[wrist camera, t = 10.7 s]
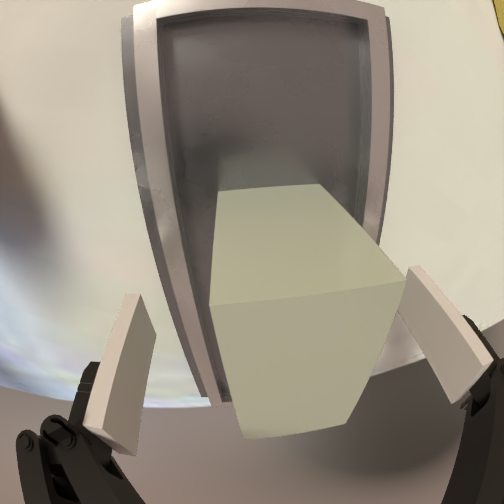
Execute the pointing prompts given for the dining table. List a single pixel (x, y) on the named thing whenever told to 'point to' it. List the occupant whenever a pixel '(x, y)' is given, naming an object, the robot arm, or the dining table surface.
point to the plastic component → (500, 13)
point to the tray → (250, 128)
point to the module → (297, 307)
